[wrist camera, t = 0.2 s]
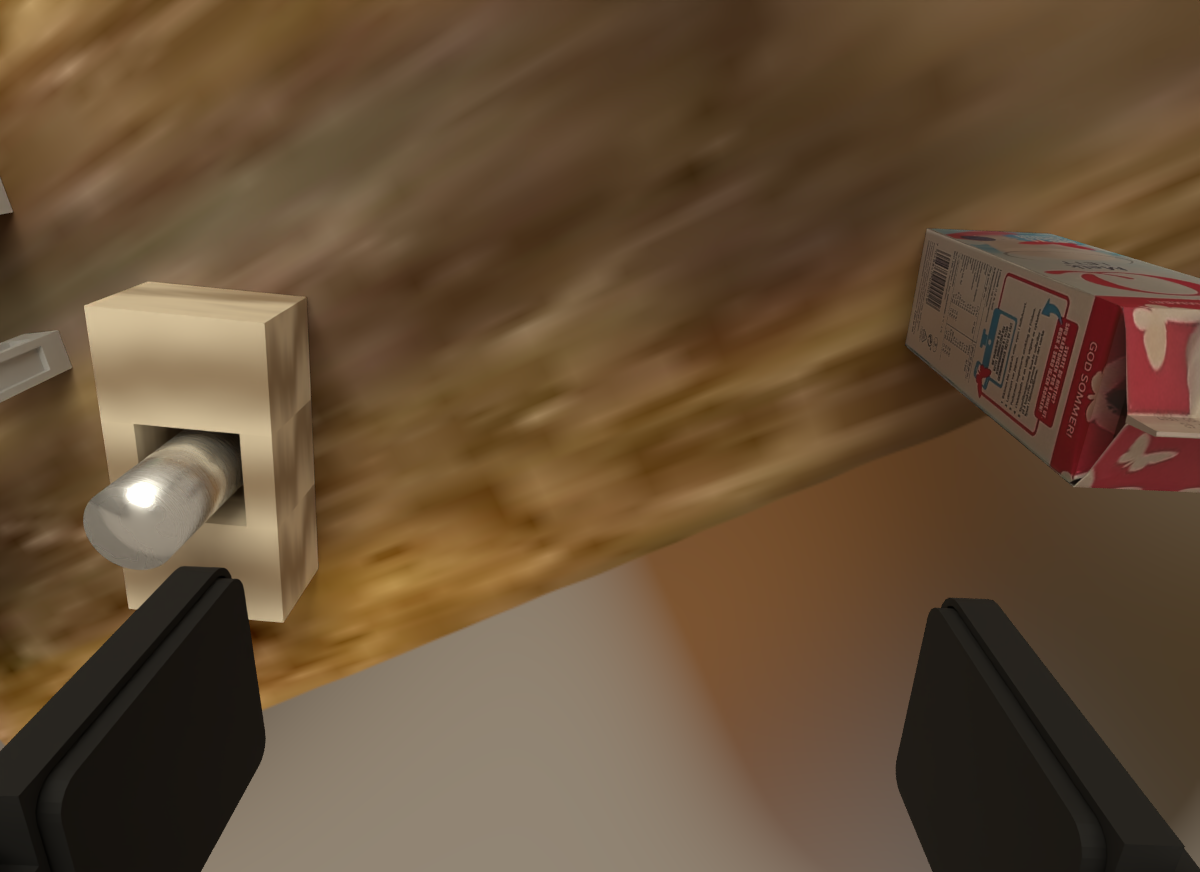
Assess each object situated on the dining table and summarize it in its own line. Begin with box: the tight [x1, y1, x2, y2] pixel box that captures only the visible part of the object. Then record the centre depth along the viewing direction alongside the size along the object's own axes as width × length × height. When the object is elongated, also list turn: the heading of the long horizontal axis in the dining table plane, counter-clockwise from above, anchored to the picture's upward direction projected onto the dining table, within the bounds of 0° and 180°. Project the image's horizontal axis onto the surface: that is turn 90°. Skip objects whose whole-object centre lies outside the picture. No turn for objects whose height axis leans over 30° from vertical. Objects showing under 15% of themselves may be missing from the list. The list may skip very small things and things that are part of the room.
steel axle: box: [83, 429, 243, 570], centre depth 44 cm, size 4×4×12 cm
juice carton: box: [905, 228, 1200, 492], centre depth 35 cm, size 7×7×22 cm
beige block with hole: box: [84, 282, 318, 623], centre depth 47 cm, size 18×9×6 cm, turn 175°
